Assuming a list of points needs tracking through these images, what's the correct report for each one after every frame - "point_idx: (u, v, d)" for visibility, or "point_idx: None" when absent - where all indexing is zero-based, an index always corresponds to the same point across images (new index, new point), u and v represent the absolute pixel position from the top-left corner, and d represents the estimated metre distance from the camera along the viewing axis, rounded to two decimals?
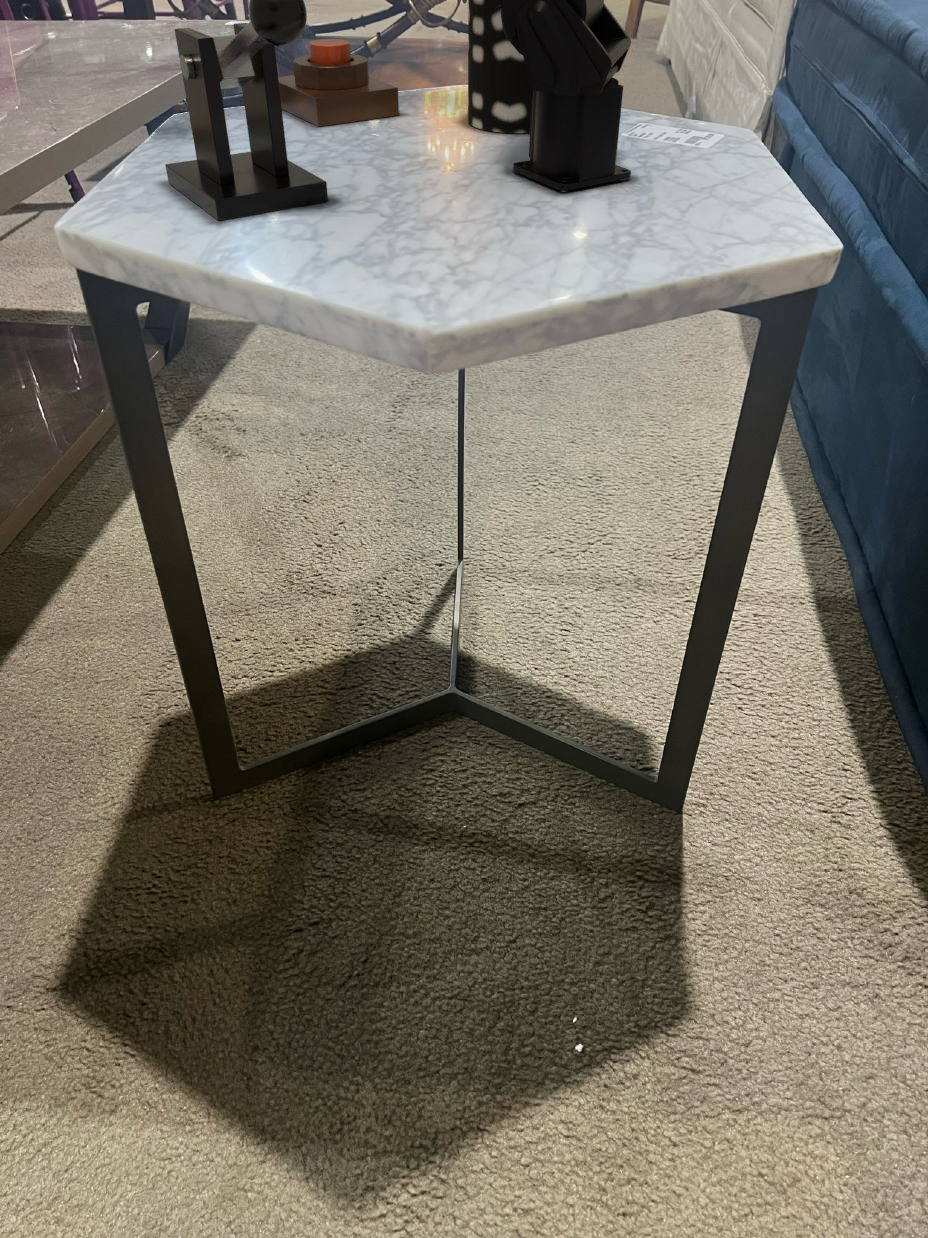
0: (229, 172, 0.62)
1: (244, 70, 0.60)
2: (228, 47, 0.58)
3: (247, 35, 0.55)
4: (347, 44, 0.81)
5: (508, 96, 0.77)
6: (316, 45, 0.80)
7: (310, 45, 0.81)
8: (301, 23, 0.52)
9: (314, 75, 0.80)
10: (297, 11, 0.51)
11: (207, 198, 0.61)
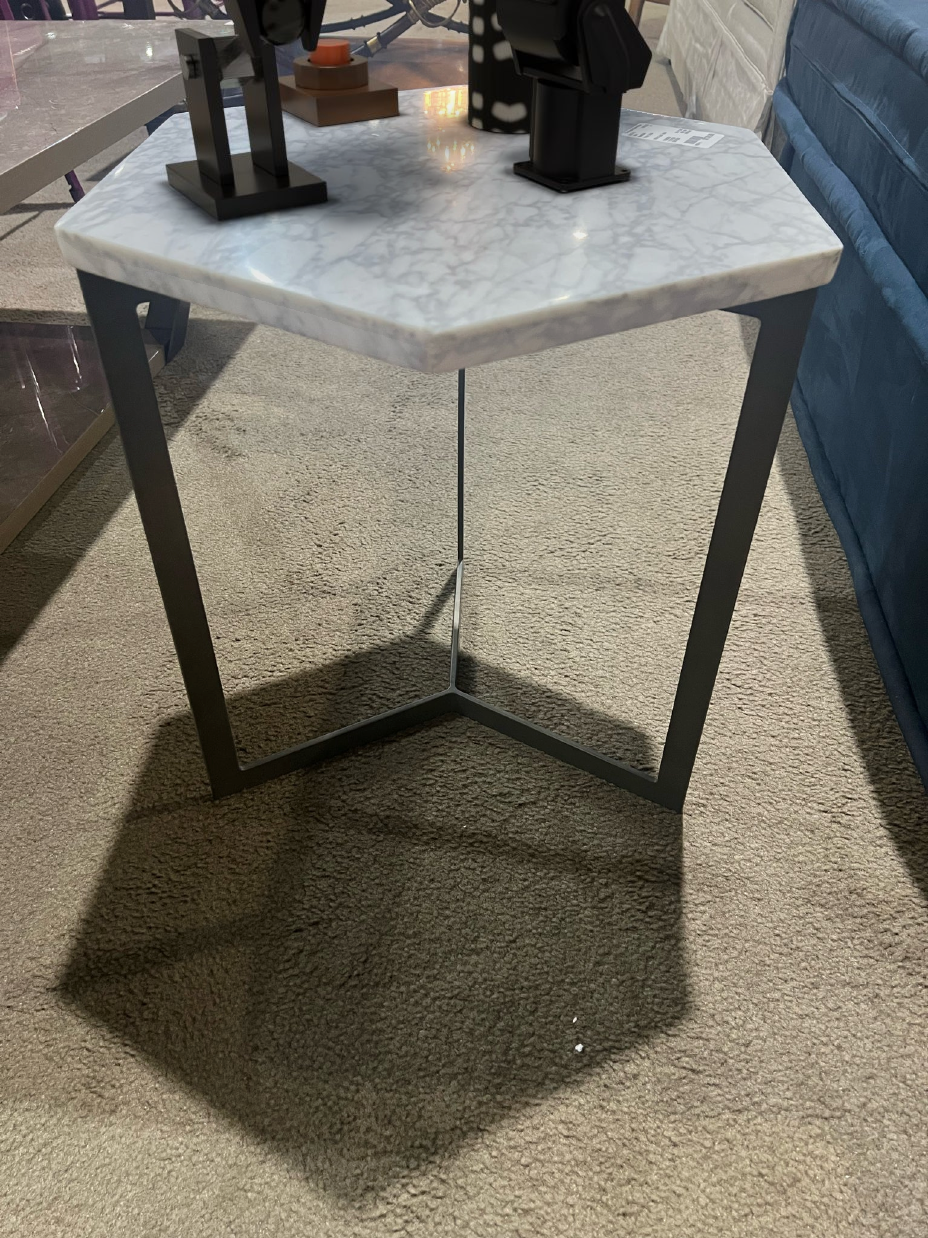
0: (229, 172, 0.62)
1: (244, 70, 0.60)
2: (228, 47, 0.58)
3: None
4: (347, 44, 0.81)
5: (508, 96, 0.77)
6: None
7: None
8: (301, 23, 0.52)
9: (314, 75, 0.80)
10: (297, 11, 0.51)
11: (207, 198, 0.61)
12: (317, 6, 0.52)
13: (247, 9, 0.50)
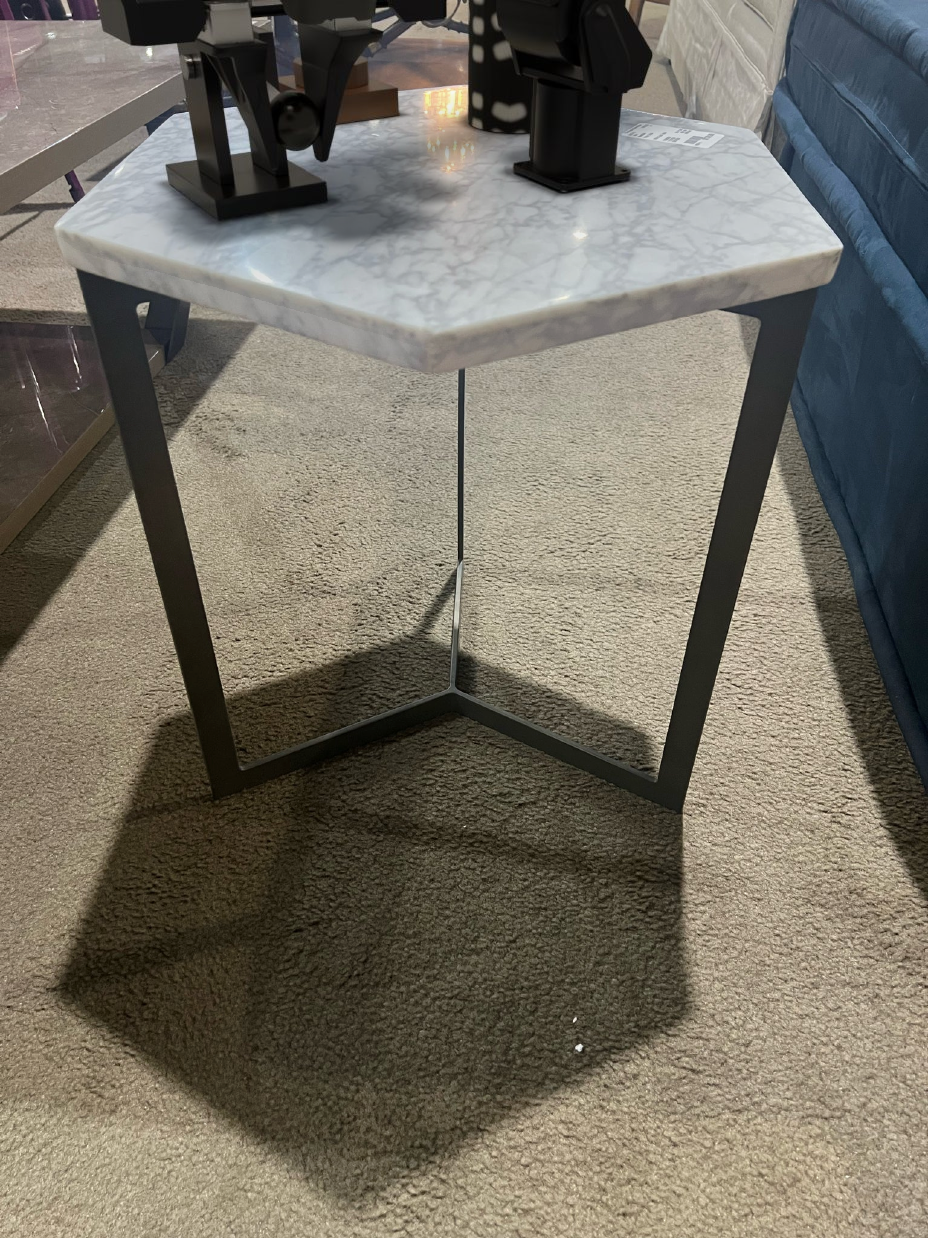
0: (229, 172, 0.62)
1: None
2: None
3: None
4: None
5: (508, 96, 0.77)
6: None
7: None
8: (314, 141, 0.56)
9: None
10: (312, 136, 0.55)
11: (207, 198, 0.61)
12: (329, 123, 0.56)
13: (266, 129, 0.54)
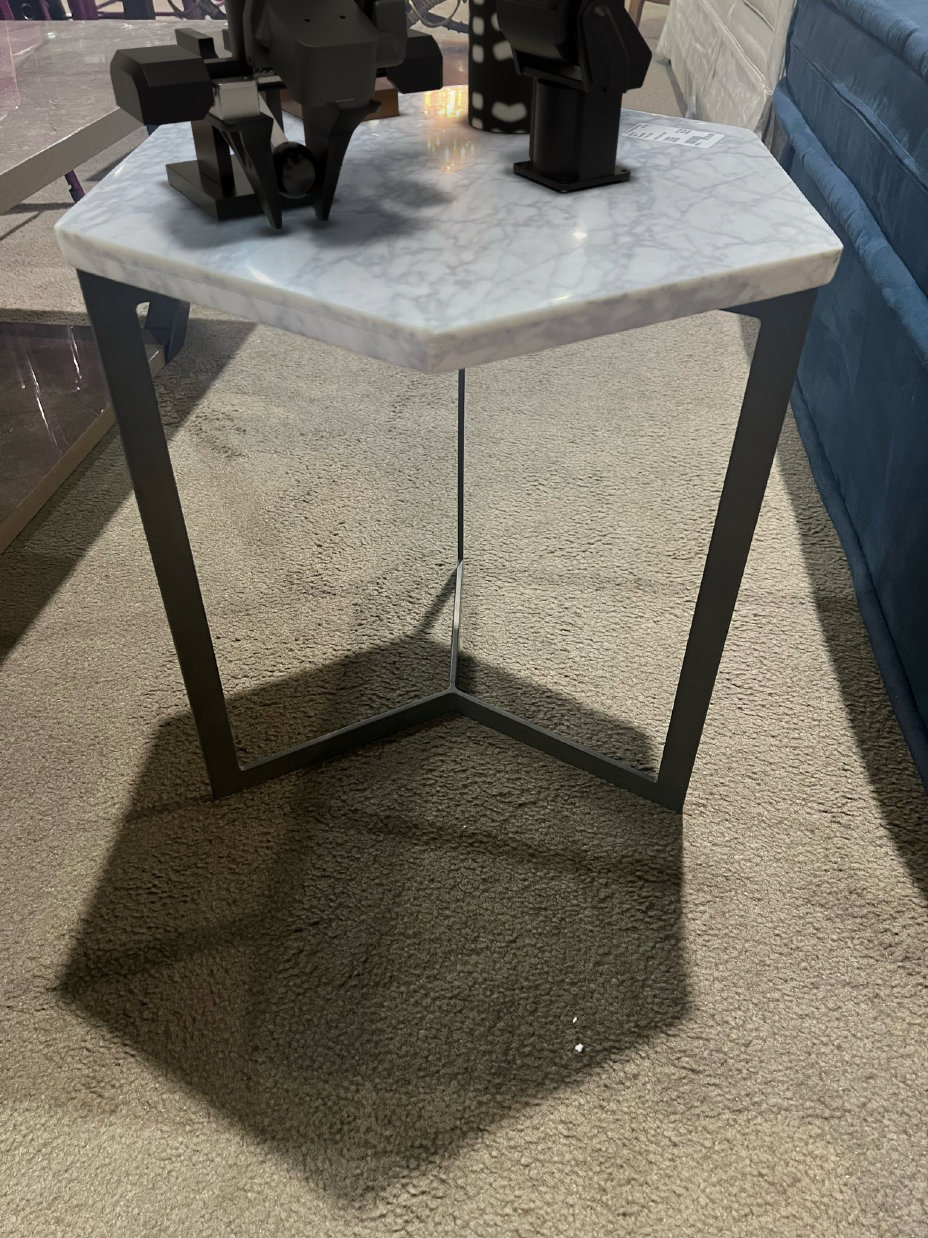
0: (229, 172, 0.62)
1: None
2: None
3: None
4: None
5: (508, 96, 0.77)
6: None
7: None
8: None
9: None
10: (309, 190, 0.58)
11: (207, 198, 0.61)
12: (329, 186, 0.58)
13: (271, 193, 0.57)
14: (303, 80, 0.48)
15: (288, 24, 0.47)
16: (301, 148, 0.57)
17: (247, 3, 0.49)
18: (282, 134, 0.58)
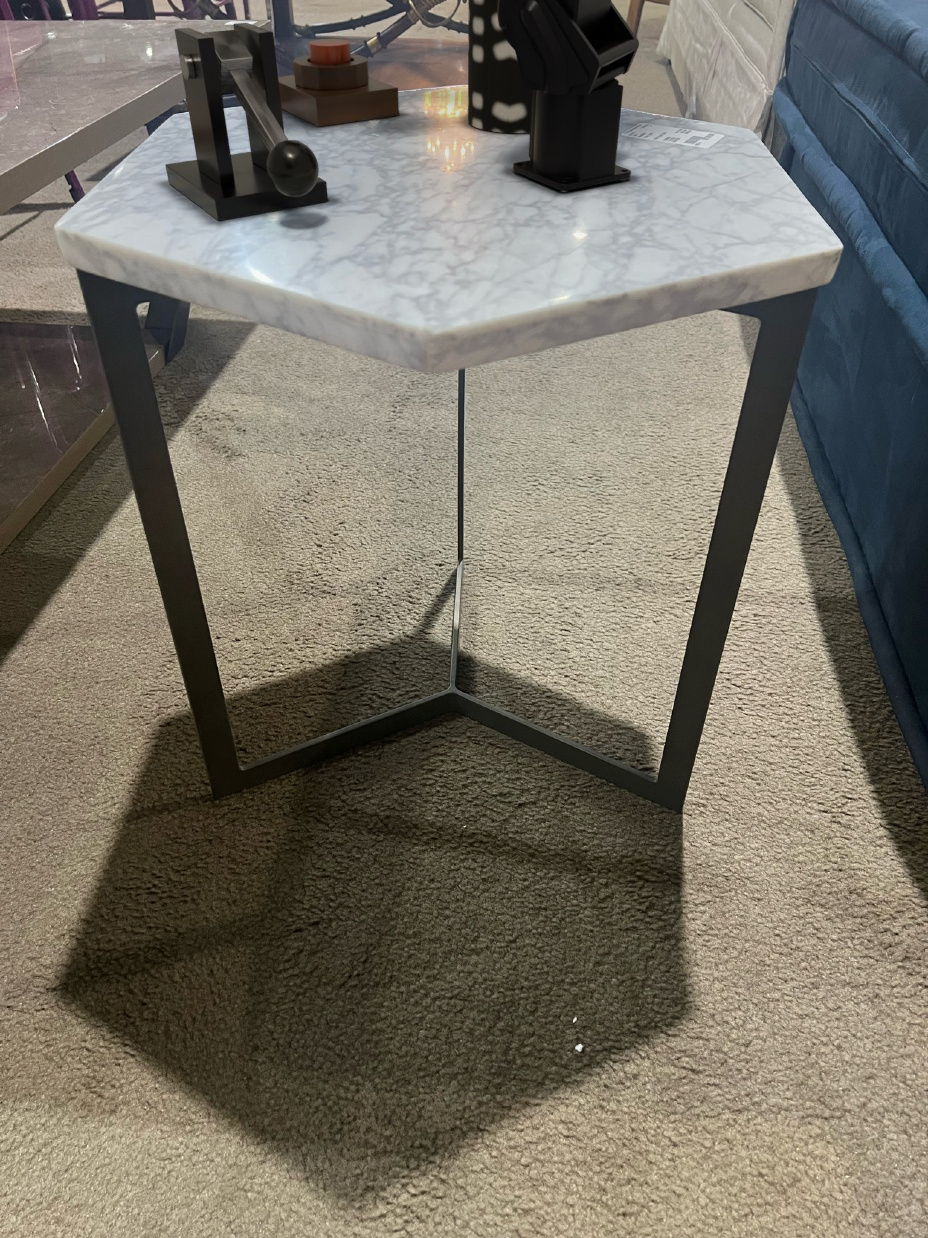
0: (229, 172, 0.62)
1: None
2: (234, 82, 0.59)
3: (257, 126, 0.59)
4: (347, 44, 0.81)
5: (508, 96, 0.77)
6: (316, 45, 0.80)
7: (310, 45, 0.81)
8: (310, 189, 0.58)
9: (314, 75, 0.80)
10: (309, 188, 0.58)
11: (207, 198, 0.61)
12: None
13: None
14: None
15: None
16: (301, 146, 0.56)
17: None
18: (282, 133, 0.58)
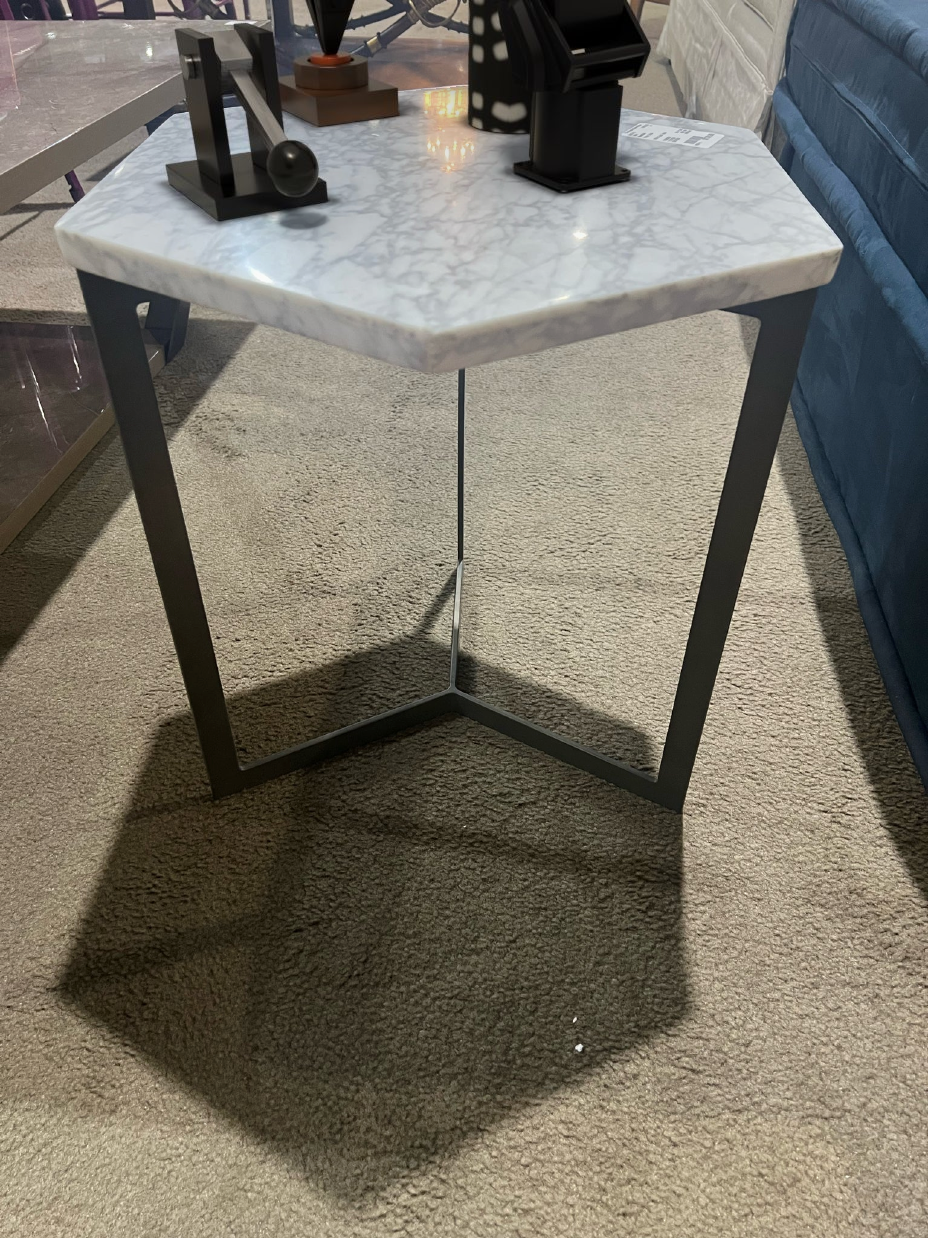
0: (229, 172, 0.62)
1: None
2: (234, 82, 0.59)
3: (257, 126, 0.59)
4: (348, 56, 0.82)
5: (508, 96, 0.77)
6: (317, 57, 0.81)
7: (311, 57, 0.81)
8: (310, 189, 0.58)
9: (314, 75, 0.80)
10: (309, 188, 0.58)
11: (207, 198, 0.61)
12: (320, 25, 0.80)
13: (314, 22, 0.80)
14: None
15: None
16: (301, 146, 0.56)
17: None
18: (282, 133, 0.58)
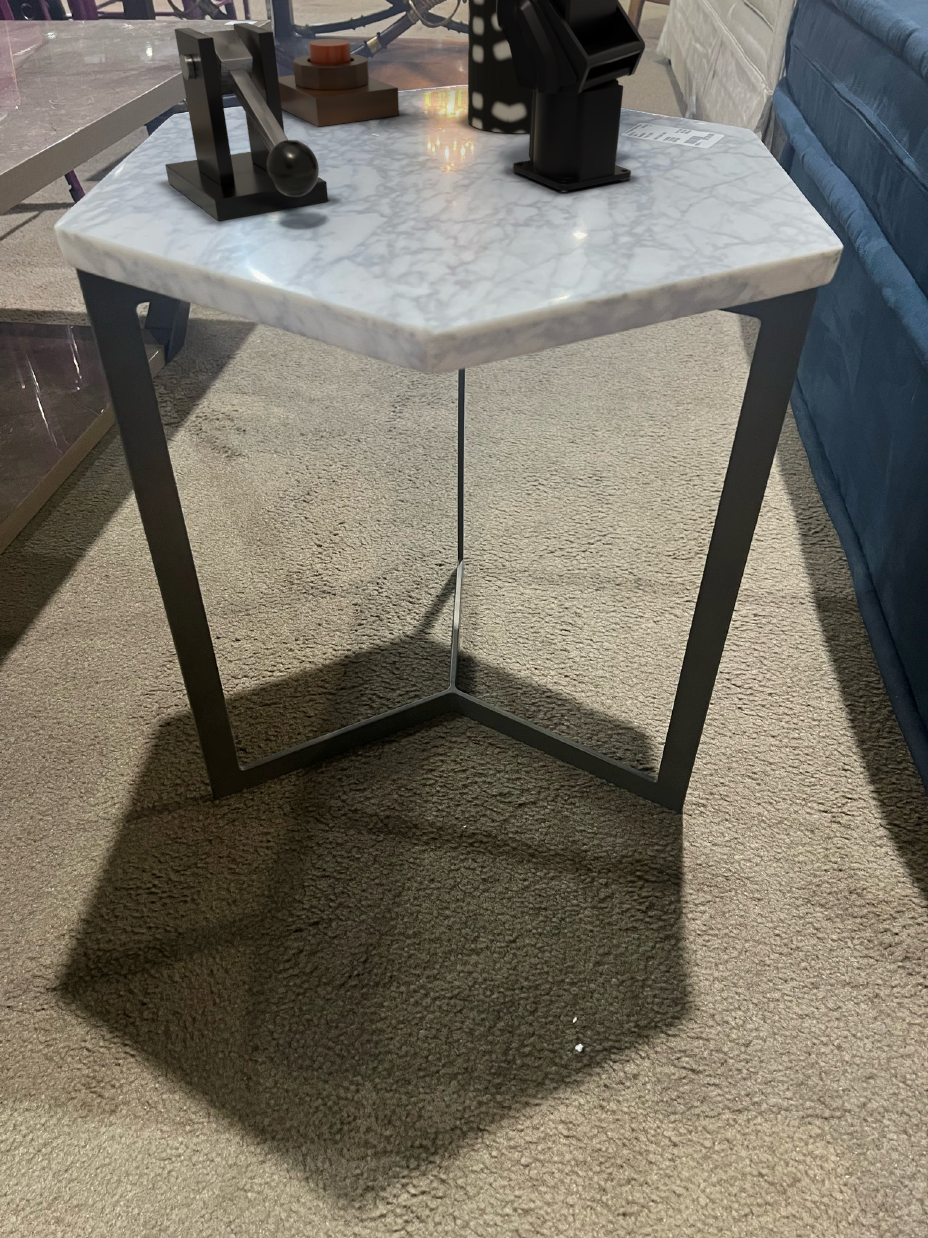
0: (229, 172, 0.62)
1: None
2: (234, 82, 0.59)
3: (257, 126, 0.59)
4: (347, 44, 0.81)
5: (508, 96, 0.77)
6: (316, 45, 0.80)
7: (310, 45, 0.81)
8: (310, 189, 0.58)
9: (314, 75, 0.80)
10: (309, 188, 0.58)
11: (207, 198, 0.61)
12: None
13: None
14: None
15: None
16: (301, 146, 0.56)
17: None
18: (282, 133, 0.58)
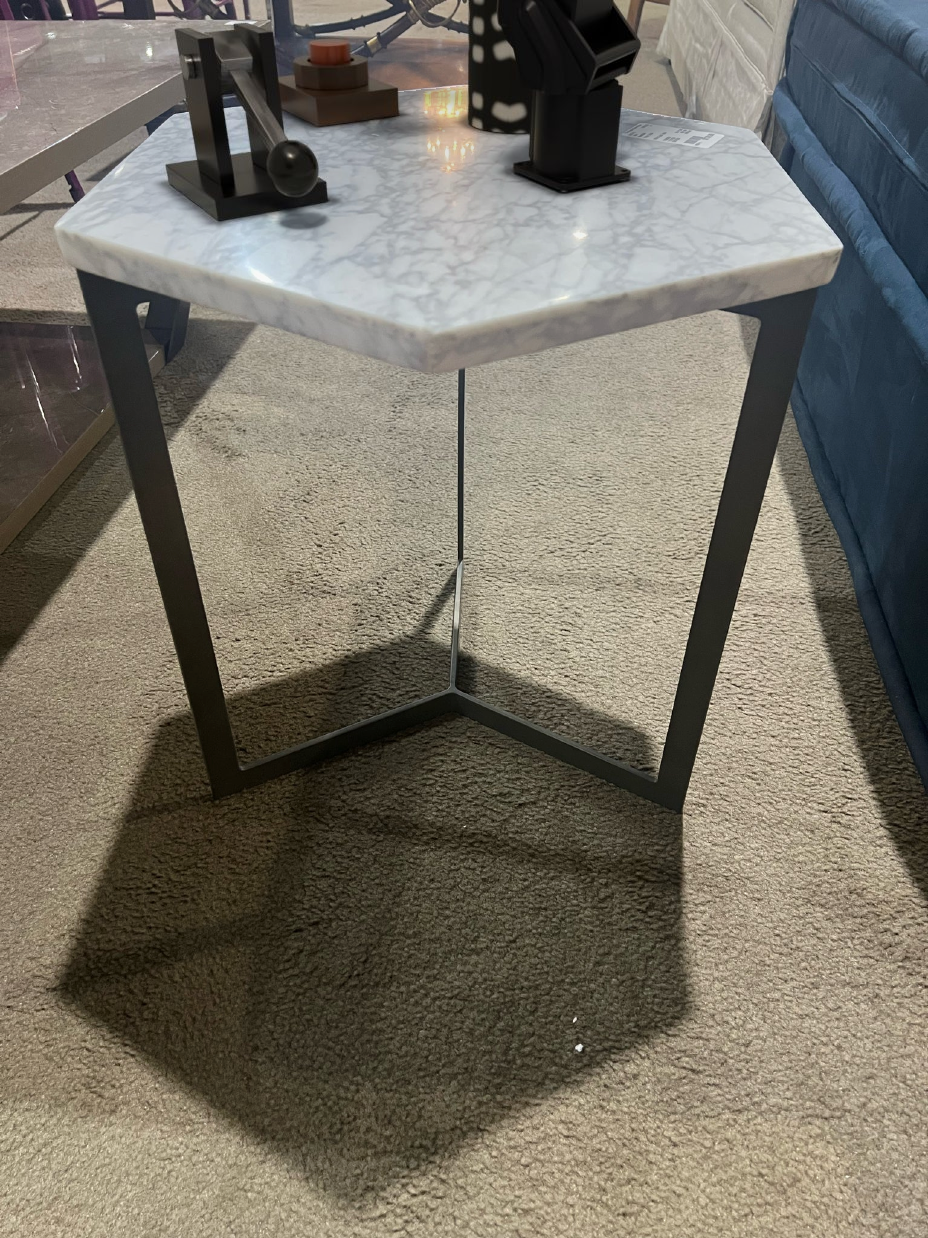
0: (229, 172, 0.62)
1: None
2: (234, 82, 0.59)
3: (257, 126, 0.59)
4: (347, 44, 0.81)
5: (508, 96, 0.77)
6: (316, 45, 0.80)
7: (310, 45, 0.81)
8: (310, 189, 0.58)
9: (314, 75, 0.80)
10: (309, 188, 0.58)
11: (207, 198, 0.61)
12: None
13: None
14: None
15: None
16: (301, 146, 0.56)
17: None
18: (282, 133, 0.58)
